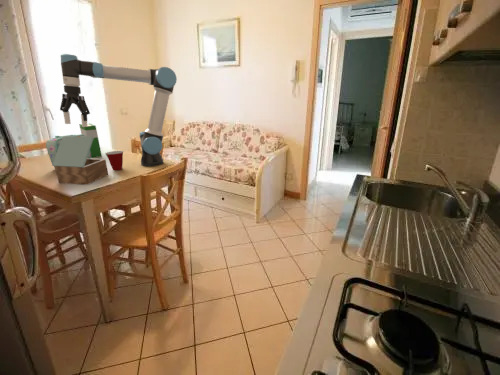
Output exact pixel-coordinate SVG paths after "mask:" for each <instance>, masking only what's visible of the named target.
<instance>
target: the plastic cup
mask: <svg viewBox="0 0 500 375" xmlns="http://www.w3.org/2000/svg"><path fill="white" fill-rule="evenodd" d="M123 154H124V150H113V151H107V152H105V155H106V157H107V159H108V162H109V164H110V166H111V169H112V171H121V170H122V169H123V164H124V163H123V162H124V161H123V160H124V159H123V157H124V155H123Z"/></svg>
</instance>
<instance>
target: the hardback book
mask: <svg viewBox="0 0 500 375" xmlns="http://www.w3.org/2000/svg"><path fill="white" fill-rule="evenodd" d="M87 126H88V127H82V123H79V128H80V134H82V135H85V136H86V137H93V138H94V139H93V142H92V145H91V148H90V151H91V159H95V158H100V157H103V155H102V150H101V146H100V140H99V136H98V130H97V126H96V125H95V124H93V123H90V122H89V123H87Z"/></svg>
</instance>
